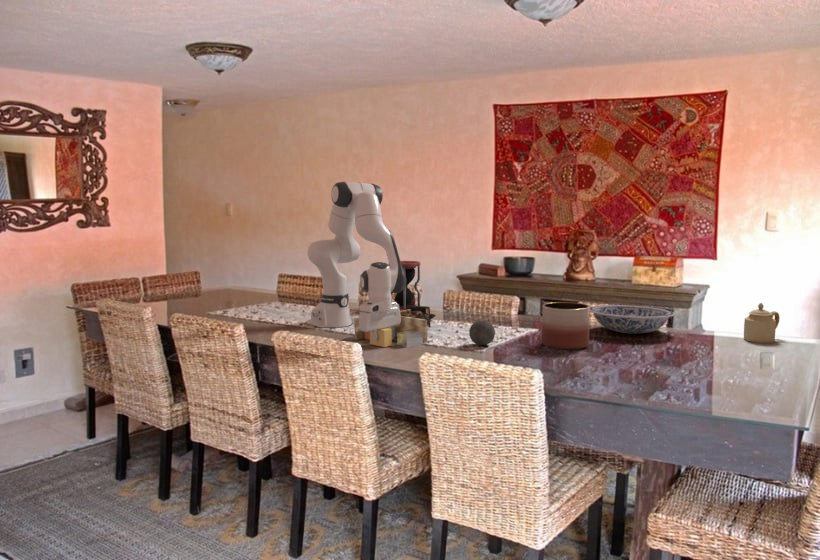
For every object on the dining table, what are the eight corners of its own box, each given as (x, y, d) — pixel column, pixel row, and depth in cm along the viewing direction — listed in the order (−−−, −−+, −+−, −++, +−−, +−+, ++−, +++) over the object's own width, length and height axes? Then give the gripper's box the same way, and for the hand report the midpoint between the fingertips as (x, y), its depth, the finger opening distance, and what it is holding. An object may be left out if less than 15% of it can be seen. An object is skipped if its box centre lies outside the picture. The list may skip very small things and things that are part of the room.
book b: (374, 340, 268) (373, 325, 267) (387, 337, 273) (387, 322, 273) (381, 342, 265) (380, 326, 264) (394, 338, 271) (394, 323, 270)
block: (397, 345, 260) (397, 332, 259) (413, 342, 265) (413, 330, 264) (406, 347, 255) (406, 335, 254) (422, 344, 260) (422, 332, 259)
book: (384, 347, 255) (384, 330, 254) (370, 344, 260) (369, 327, 259) (391, 345, 258) (391, 329, 257) (377, 342, 263) (377, 326, 262)
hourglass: (420, 313, 330) (420, 263, 327) (388, 313, 330) (387, 263, 327) (420, 307, 346) (420, 260, 343) (390, 308, 346) (389, 260, 343)
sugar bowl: (749, 334, 273) (751, 298, 271) (779, 337, 266) (781, 301, 264) (740, 340, 261) (742, 303, 259) (771, 344, 254) (774, 305, 252)
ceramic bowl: (686, 331, 279) (687, 308, 278) (652, 345, 254) (653, 319, 253) (610, 322, 303) (611, 300, 301) (572, 333, 278) (573, 310, 276)
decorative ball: (464, 343, 260) (464, 318, 259) (486, 341, 264) (486, 316, 263) (477, 349, 251) (477, 323, 250) (499, 346, 255) (500, 321, 254)
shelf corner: (354, 339, 270) (354, 317, 269) (380, 333, 281) (380, 312, 280) (401, 348, 253) (401, 325, 251) (427, 342, 264) (427, 319, 263)
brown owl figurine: (408, 305, 301) (447, 305, 282) (410, 328, 301) (449, 330, 282) (383, 307, 291) (422, 308, 272) (385, 332, 291) (423, 334, 273)
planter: (562, 352, 244) (563, 310, 242) (532, 343, 259) (532, 304, 258) (598, 347, 252) (599, 306, 250) (567, 338, 268) (568, 300, 266)
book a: (364, 339, 271) (364, 323, 270) (378, 335, 277) (378, 320, 276) (371, 340, 269) (371, 324, 268) (385, 337, 274) (384, 321, 274)
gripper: (392, 300, 266) (393, 334, 268) (355, 306, 251) (356, 342, 253) (404, 302, 262) (404, 336, 264) (367, 308, 247) (368, 344, 249)
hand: (380, 339), depth 258 cm, fingers closed on book, 4 cm apart
